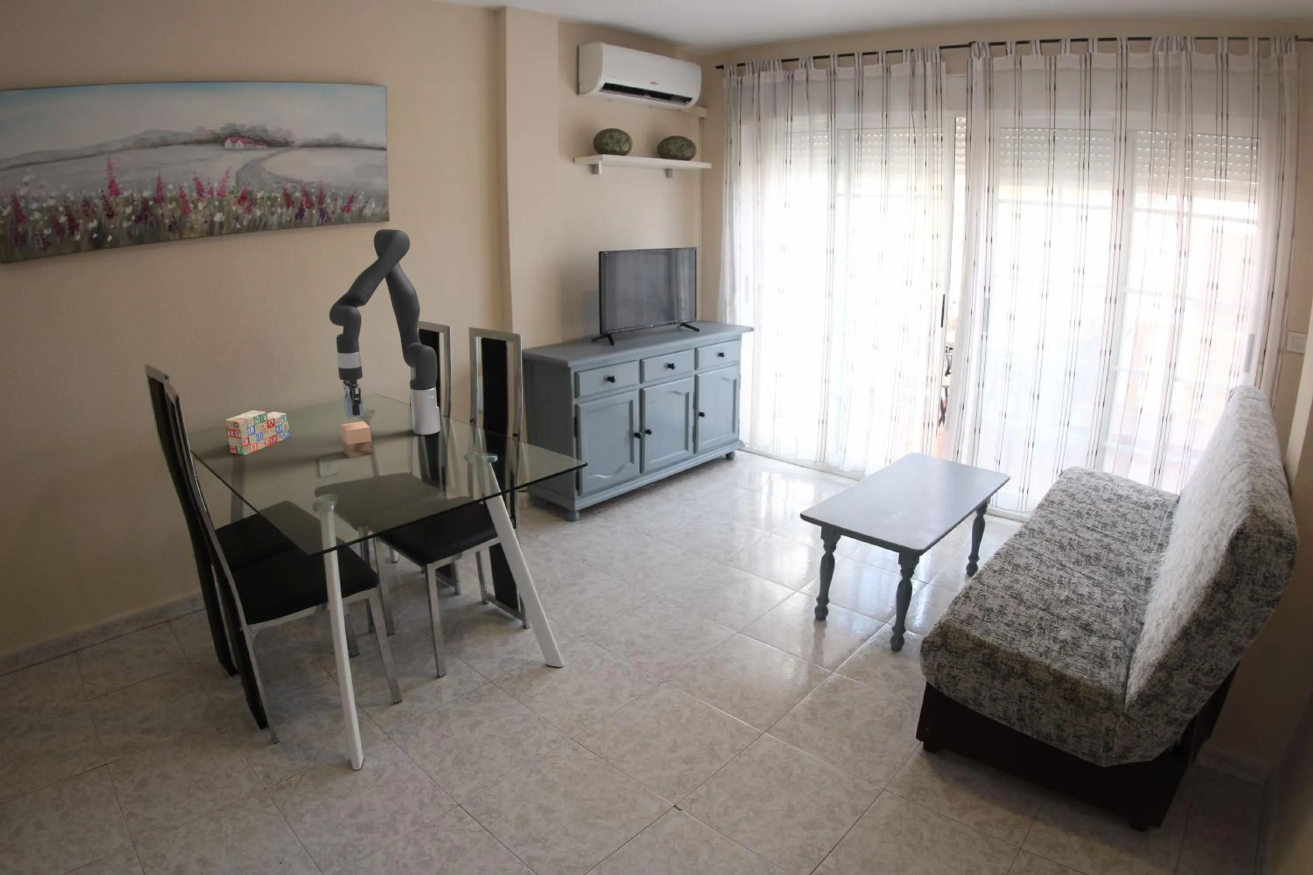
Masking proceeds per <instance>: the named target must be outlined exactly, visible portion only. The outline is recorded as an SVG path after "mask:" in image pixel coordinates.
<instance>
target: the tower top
mask: <svg viewBox="0 0 1313 875" xmlns="http://www.w3.org/2000/svg"><path fill="white" fill-rule="evenodd" d="M339 427H340V435H341V436H340V437H341V440H342V439H343V440H344V441H345V442H346V444H347V445H349V444H355V443H361V442H368V441H371V440H372V433H371V426H370V425H368V423H367V422H365V420H362V421H356V422H355V421H354V422H350V423H349V422H348V423H341V424H340V425H339Z"/></svg>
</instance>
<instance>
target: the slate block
mask: <svg viewBox="0 0 1313 875" xmlns="http://www.w3.org/2000/svg"><path fill="white" fill-rule="evenodd" d="M355 401H357V398H356V399H355ZM363 404H364V403H363V398H362V397H361V404H359V408H360V415H357V416H354V415H353V410H352V404H351V399H350V398H349V397H345V396H344V397H343V406H344V415H345V416H346V417H347V418H348V419H351V418H359V417H364V416H365V413H364V405H363Z"/></svg>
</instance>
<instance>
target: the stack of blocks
mask: <svg viewBox="0 0 1313 875" xmlns="http://www.w3.org/2000/svg"><path fill="white" fill-rule="evenodd" d="M224 422H225V425H226V427H225V428H226V434H227V439H228V440H227V441H228V444H229V446H228V447H229V453H231V454H235V455H242V456H245V455H248V454H250V453H254V452H256V451H258V450H262V449H264V448H266V447H268V446H271V445H274V444H276V443H278V442H281V441H283V440H286V439H289V438H291V434H290V426H289V421H288V414H287V413H285V412H280V411H279V412H278V411H272V412H268V413H267V411H260V410H254V409H252V410H250V411H247V412H244V413H241V414H239V415H235V416H232V417H230V418H226V419H225V421H224Z"/></svg>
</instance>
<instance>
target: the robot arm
mask: <svg viewBox="0 0 1313 875" xmlns="http://www.w3.org/2000/svg"><path fill="white" fill-rule="evenodd" d="M373 236H374V237H373V247H374V250H375V253H376V256H377V258H376V260H375V261H374V262H372V264H371V265H369V266H368V267H366V268H365V269H364V270H363V271H361V273H359V275H358V276H357V277H356V278H355V279H354V281H353V283H352V284H351V285H350V287H349V288H348V290H347V291H346V292H345V293H344V294H343V295H342V296H341V297H340V298H339V299H337V300H336V301H335V302H334V303H333V305H332V306H331V307H330V310H329V314H328V318H329V321H330V322H331V323H332V324H333V325H334V326H339V327H342V329H343V330H342V333H339V334H338V335H336V337H335V338H336V339H335V340H336V342H335V343H336V351H337V352H336V353H337V354H336V356H337V357H336V358H337V361H336V362H337V369H338V371H337V372H338V379H339V380H341V381H342V383H343V390H344V397H349V398H350V399H351V404H352V410H353V415H354V416H357V415H360V408H359V404H361V398H362V393H361V392H362V388H361V387H360V384H359V383H358V380H361V379H362V378H363V377H364V376H363V366H362V365H363V364H362V356H361V353H360V352H361V351H360V341H359V337H360V333H361V328H362V316H361V315H362V314H361V312H360V310H359V308H360V307H363V306H366V304H368V303H369V300H371V298H372V296H373V295H374V293H375V292H376V290H377V289H378V288H379V286H380V284H381V283H382V282H383V280H384V279H385V283H386V286H387V289H388V290H387V291H388V293H389V297H390V302H391V306H392V310H393V313H394V317H395V321H396V325H397V328H398V333H399V337H400V344H401V352H402V357H403V360H404V362H405V364H406V365H407V366H408V367H410V368H412V369H415V376H414V378H411V379H410V381H409V390H410V392H409V394H410V404H411V406H410V407H411V416H412V417H411V418H412V428H413V429H412V430H413V433H414V434H416V435H424V436H425V435H432V434H436V433H438V432H441V421H440V420H441V418H440V417H441V415H440V407H439V406H438V402H437V386H436V385H437V384H436V383H437V380H438V357H437V353H436V351H435V349H434V348H433V347H431V346H430V345H425V344H422V342H421V339H420V335H419V331H418V323H419V320H420V319H419V318H420V314H421V306H420V302H419V298H418V293H417V290H416V288H415V286H414V285H413V283H412V282H411V281H410V278H408V276H407V275H406V273H405V272H404V270H403V269H402V267H401V263H400V261H401V260H402V259H403V258H404V257H405V256H406V255H407V253H408V252H409V250H410V247H411V241H410V240H411V239H410V237H409V235H408V234H407V233H406V232H405V231H403V230H400V229H388V228H387V229H386V228H382V229H378V230H377V231H376V232H375V234H374V235H373ZM356 398H357V401H355V399H356Z"/></svg>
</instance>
